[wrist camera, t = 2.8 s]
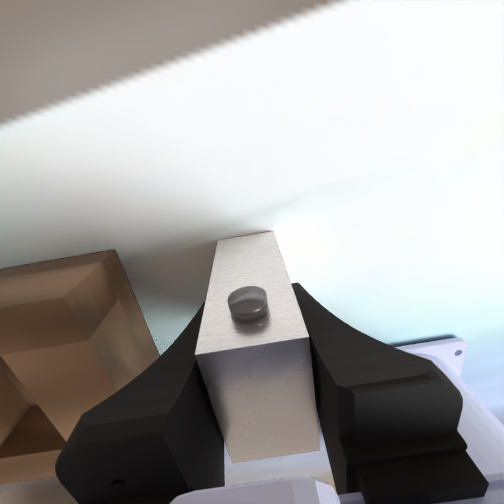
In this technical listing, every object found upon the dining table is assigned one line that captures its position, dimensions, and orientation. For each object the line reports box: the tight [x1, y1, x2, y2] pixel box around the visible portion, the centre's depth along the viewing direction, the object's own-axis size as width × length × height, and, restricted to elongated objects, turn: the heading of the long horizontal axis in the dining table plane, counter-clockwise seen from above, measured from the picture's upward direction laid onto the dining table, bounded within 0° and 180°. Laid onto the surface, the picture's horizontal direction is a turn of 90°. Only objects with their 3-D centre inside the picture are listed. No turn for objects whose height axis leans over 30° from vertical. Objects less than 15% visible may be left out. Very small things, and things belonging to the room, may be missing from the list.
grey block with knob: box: [195, 231, 320, 463], centre depth 11 cm, size 6×3×8 cm, turn 9°
